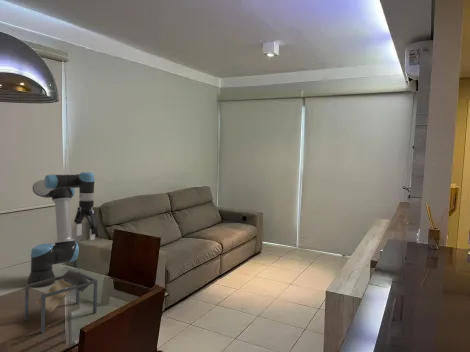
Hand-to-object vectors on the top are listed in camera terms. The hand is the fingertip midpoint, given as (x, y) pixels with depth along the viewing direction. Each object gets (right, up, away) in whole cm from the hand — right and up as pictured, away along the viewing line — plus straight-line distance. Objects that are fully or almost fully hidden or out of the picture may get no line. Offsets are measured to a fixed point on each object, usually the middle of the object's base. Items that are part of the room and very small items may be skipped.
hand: (85, 237), depth 197 cm
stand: (-3, -36, -21) cm, 42 cm away
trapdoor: (-1, -26, -20) cm, 33 cm away
